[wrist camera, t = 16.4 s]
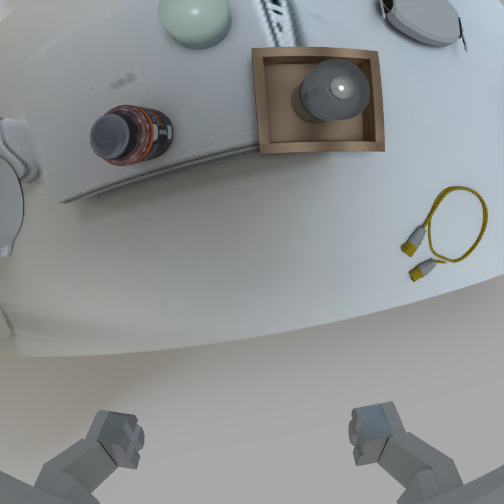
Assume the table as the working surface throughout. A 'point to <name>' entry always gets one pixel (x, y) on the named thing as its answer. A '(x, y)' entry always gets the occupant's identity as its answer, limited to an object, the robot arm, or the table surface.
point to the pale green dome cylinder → (195, 21)
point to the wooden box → (293, 127)
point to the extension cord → (420, 232)
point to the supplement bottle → (131, 135)
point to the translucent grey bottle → (331, 92)
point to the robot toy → (425, 20)
